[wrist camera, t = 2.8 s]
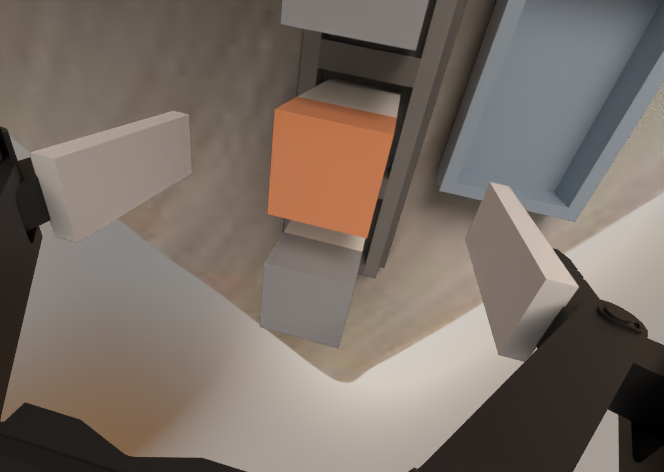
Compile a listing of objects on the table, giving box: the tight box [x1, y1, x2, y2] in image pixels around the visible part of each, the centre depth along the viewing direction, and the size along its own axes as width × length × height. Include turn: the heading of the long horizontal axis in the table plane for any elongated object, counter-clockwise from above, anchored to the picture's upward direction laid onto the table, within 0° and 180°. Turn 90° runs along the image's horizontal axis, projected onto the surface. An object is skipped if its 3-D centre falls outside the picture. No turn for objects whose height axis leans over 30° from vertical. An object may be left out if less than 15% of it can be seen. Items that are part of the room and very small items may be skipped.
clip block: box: [283, 0, 467, 278], centre depth 22 cm, size 23×9×3 cm, turn 170°
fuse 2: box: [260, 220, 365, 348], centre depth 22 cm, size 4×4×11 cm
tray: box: [436, 0, 664, 222], centre depth 19 cm, size 14×9×3 cm, turn 170°
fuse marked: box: [268, 78, 401, 238], centre depth 18 cm, size 4×4×11 cm
